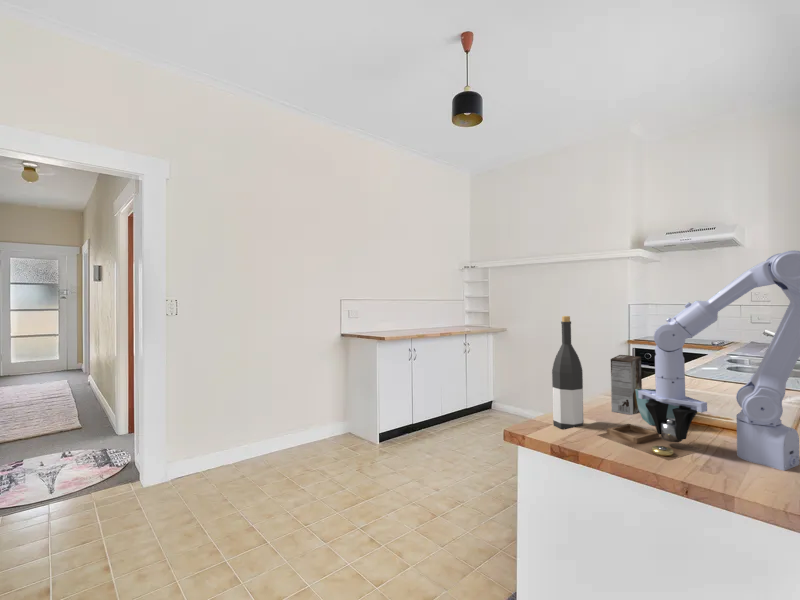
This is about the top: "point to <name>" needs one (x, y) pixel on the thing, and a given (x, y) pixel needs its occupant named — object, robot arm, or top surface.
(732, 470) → the top surface
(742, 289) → the robot arm
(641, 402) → the flower pot
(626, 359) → the coffee box
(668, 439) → the silver knobbed cylinder
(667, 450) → the brass domed disc
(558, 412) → the wine bottle
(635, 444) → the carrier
